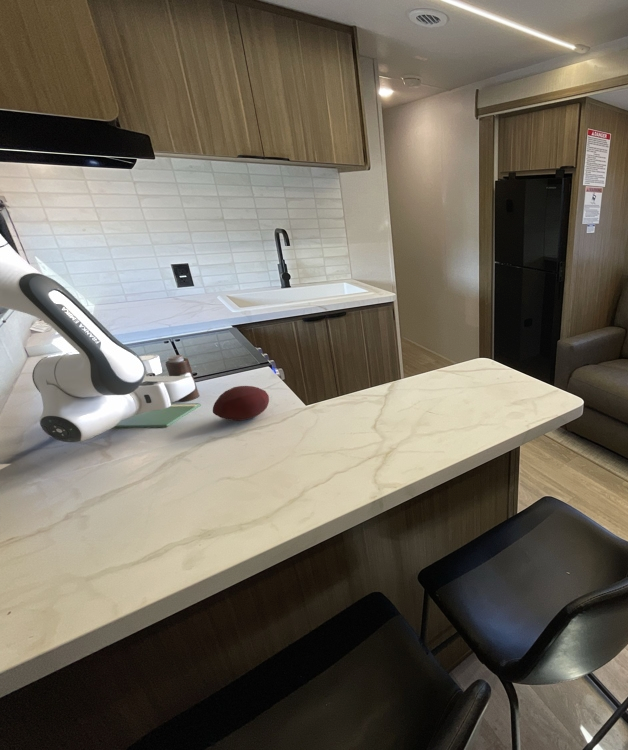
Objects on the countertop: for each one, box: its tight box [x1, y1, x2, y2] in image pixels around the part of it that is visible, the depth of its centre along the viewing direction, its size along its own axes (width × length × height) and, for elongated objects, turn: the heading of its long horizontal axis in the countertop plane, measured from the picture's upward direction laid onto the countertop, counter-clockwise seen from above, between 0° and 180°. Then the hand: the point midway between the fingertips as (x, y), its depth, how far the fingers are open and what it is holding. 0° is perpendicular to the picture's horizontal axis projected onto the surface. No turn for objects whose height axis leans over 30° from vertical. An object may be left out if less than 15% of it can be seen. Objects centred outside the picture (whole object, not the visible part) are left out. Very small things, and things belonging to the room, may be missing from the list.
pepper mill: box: [164, 354, 200, 402], centre depth 111 cm, size 5×5×12 cm
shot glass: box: [139, 354, 163, 376], centre depth 126 cm, size 7×7×7 cm
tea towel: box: [113, 402, 202, 428], centre depth 103 cm, size 14×12×1 cm
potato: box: [212, 385, 270, 421], centre depth 100 cm, size 12×11×8 cm
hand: (170, 375), depth 107 cm, fingers open, 8 cm apart
